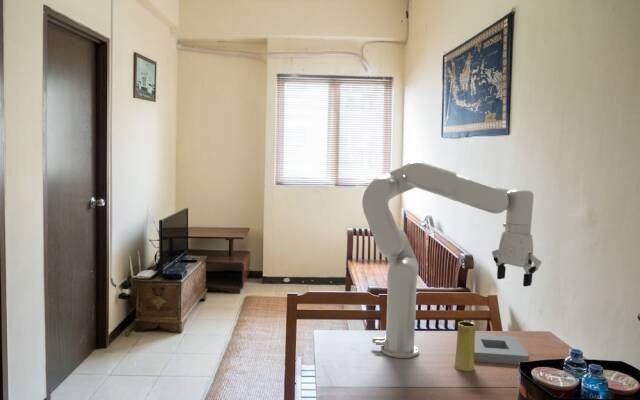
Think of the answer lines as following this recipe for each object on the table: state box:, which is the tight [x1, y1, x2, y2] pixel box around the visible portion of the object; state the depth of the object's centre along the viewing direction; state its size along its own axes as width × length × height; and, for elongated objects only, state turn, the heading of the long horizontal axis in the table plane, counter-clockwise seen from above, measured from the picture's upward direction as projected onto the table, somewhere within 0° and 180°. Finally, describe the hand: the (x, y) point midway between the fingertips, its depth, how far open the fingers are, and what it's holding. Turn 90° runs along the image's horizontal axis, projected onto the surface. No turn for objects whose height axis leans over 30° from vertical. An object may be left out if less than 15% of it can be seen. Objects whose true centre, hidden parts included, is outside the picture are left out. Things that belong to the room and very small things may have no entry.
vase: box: [454, 320, 476, 372], centre depth 173 cm, size 6×6×14 cm
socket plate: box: [474, 333, 530, 365], centre depth 187 cm, size 18×18×3 cm
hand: (513, 282), depth 175 cm, fingers open, 9 cm apart
